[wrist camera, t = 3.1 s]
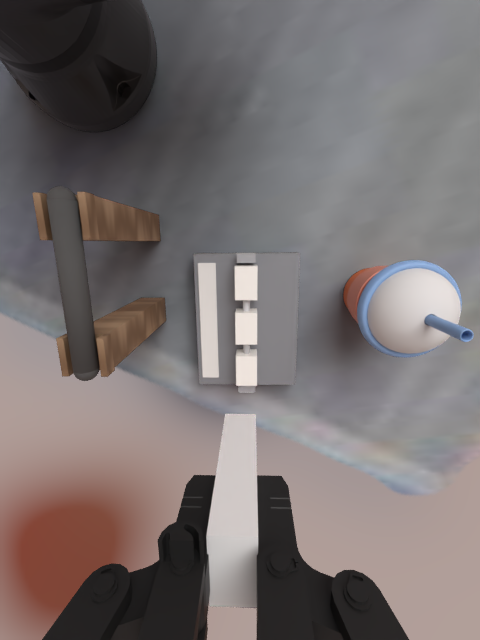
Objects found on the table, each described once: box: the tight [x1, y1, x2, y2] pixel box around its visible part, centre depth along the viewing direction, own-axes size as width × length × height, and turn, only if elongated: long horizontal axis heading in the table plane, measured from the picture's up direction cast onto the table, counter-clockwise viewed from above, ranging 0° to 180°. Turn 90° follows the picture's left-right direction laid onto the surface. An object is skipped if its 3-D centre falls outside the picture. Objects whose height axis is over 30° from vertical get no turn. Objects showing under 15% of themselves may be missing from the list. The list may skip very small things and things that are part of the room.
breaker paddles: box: [235, 265, 258, 386], centre depth 35 cm, size 14×2×2 cm, turn 1°
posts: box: [33, 192, 166, 377], centre depth 30 cm, size 13×4×17 cm, turn 1°
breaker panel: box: [193, 252, 300, 393], centre depth 37 cm, size 16×12×5 cm
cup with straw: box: [343, 260, 474, 357], centre depth 29 cm, size 9×9×18 cm
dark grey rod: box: [46, 186, 99, 381], centre depth 22 cm, size 14×2×2 cm, turn 1°
